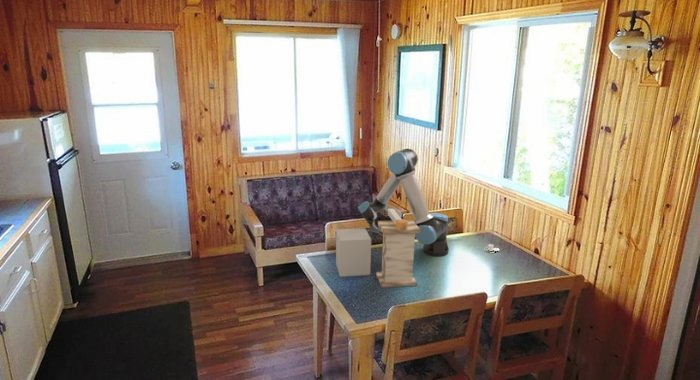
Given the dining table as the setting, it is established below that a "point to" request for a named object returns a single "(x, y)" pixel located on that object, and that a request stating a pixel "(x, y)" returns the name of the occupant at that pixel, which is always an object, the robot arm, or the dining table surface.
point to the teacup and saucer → (490, 248)
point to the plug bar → (397, 220)
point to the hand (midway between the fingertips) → (388, 214)
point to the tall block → (353, 252)
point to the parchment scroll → (397, 254)
